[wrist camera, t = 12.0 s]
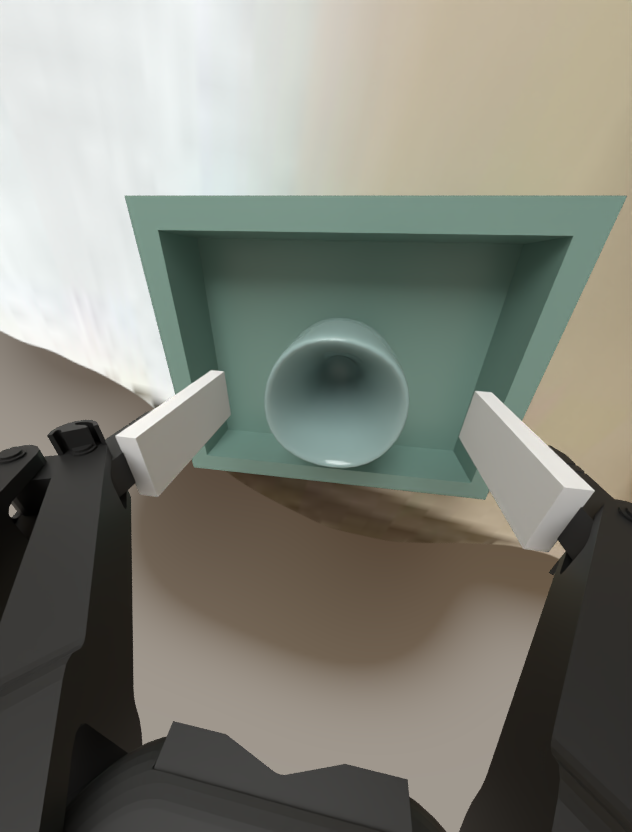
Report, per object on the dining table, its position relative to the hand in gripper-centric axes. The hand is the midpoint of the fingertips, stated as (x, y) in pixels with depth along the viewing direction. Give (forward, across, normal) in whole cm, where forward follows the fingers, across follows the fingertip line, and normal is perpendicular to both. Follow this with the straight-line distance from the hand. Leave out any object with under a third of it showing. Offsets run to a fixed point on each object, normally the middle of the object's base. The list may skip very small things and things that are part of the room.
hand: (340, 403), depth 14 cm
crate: (+11, +1, 0) cm, 11 cm away
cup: (+10, 0, 0) cm, 10 cm away
